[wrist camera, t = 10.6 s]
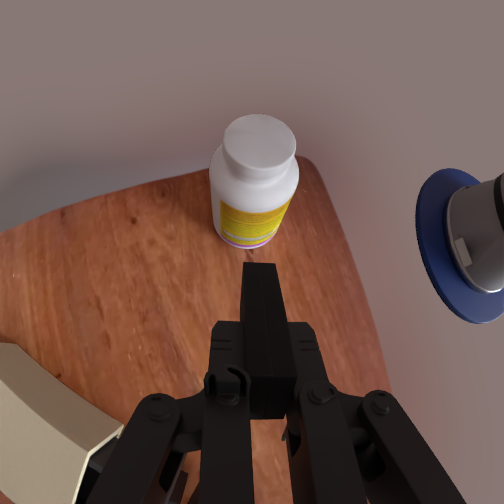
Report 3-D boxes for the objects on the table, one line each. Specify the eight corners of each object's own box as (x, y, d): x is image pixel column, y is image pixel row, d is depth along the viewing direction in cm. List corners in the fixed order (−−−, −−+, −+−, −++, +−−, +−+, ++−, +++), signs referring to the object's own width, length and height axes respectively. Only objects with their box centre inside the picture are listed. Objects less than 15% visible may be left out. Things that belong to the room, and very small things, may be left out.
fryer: (124, 424, 22) (88, 452, 14) (93, 505, 18) (62, 539, 10) (16, 343, 23) (-34, 338, 15) (-4, 428, 19) (-47, 438, 11)
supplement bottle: (289, 236, 29) (331, 166, 17) (228, 261, 28) (232, 200, 16) (261, 182, 31) (281, 96, 19) (203, 203, 30) (192, 118, 17)
